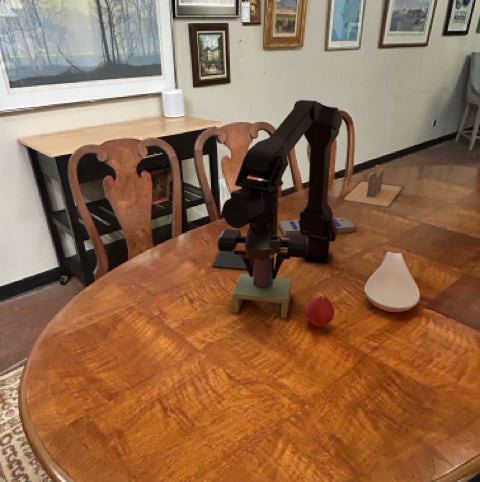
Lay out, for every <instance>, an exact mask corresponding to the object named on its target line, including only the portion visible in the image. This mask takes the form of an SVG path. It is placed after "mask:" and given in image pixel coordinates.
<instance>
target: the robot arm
mask: <svg viewBox="0 0 480 482" xmlns="http://www.w3.org/2000/svg"><path fill="white" fill-rule="evenodd" d="M342 124H343V114H342V112H341V111H340V110H339V108H338V107H335V106H328V105H325V104H323V103H321V102H318V101H317V100H311V99H309V100H308V99H299V100H297V101H295V103H294V105H293V109H291V111H290V112H289V113H288V115H287V116H286V117H285V118H284V120H283V121H282V122H281V123H280V124H279V126H278V127H277V128H276V129H275V130H274V131H273V132H272V133H271V135H270V136H269V137H267V138H264V139H263V140H259V141H256V143H255V144H254V145H252V146H251V147H250V148H248V150H247V151H246V153H245V155H244V157H243V160H242V162H241V165H240V168H239V171H238V174H237V176H236V180H235V183H234V186H235V187H239V189H234V190H232V191H230V198H228V199H227V200H225V201H224V203H223V206H222V207H221V213H222V216H223V219H224V221H225V222H226V224H228V226H230V227H231V228H233V229H231V228H230V229H229V228H225V229H224V230H222V232H221V233H220V235H219V237H218V238H217V251H227V252H232V251H233V250H234V254H235V255H238V256H240V257H241V258H242V260H243V261H244V263H245V265H246V268H247V270H246V271H247V272H248V273H247V274H249V275H250V277H252V259H259V260H263V261H266V260H269V259H270V255H274V256H275V255H276V256H275V261H274V273H273V279H275V278H276V277H278V276H277V275H278V274H279V271H280V268H281V266H282V264H283V263H284V261H285V260H290V259H291V258H301V259H303V261H305V262H315V263H316V262H317V263H326V264H327V263H329V258H330V257H329V256H330V255H329V254H330V244H331V242H335V241H336V239H337V235H338V233H337V231H338V229H337V227H336V226H335V224H334V222H333V218H334V214H333V213H334V212H333V210H332V208H331V206H330V205H329V202H328V196H329V195H328V194H329V181H330V167H331V166H330V165H331V154H332V153H331V151H332V145H333V143H334V142H335V140H336V139H337V137H338V136H339V135H340V129H341V126H342ZM303 136H304V138H305V140H306V141H307V143H308V145H309V149H310V150H309V171H308V193H307V204H306V206H305V207H304V208H303V209H302V211H300V213H299V219H298V220H299V227H300V234H301V235H299V234H290V236H289V238H282V237H281V236H280V235H278V223H279V220H278V217H279V189H280V188H279V187H282V186H283V185H284V181H283V180H282V178H283V176H284V174H285V173H286V170H287V168H288V167H289V155H290V153H291V151H292V150H293V149H294V148H295V147H296V145H297V144H298V143H299V141H300V140H301V139H302V138H303ZM253 178H255V179H253ZM247 225H248V226H249V227H248V230H247V233H246V235H242V231H241V230H240V229H241V228H243V227H246V226H247Z"/></svg>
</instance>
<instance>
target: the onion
mask: <svg viewBox="0 0 480 482" xmlns="http://www.w3.org/2000/svg"><path fill="white" fill-rule="evenodd" d="M334 315H335V307H334V305H333V303H332V302H331V301H330V300H329V299H328V298H327V297H325V295H324V294H320V295H318V296H316V297H313V298H312V299H311V300H310V301H309V302H308V303H307V305H306V308H305V316H306V318H307V320H308V322H309V323H311V324H312V325H314V326H315V327H317V328H321V327H324V326H327V325H329V324H330V323H332V321H333V320H334Z"/></svg>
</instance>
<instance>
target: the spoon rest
mask: <svg viewBox="0 0 480 482" xmlns="http://www.w3.org/2000/svg"><path fill="white" fill-rule="evenodd" d="M364 294H365V297H366V298H367V300H368V301H369V302H370V303H371V304H372V305H373V306H375V307H376V308H378V309H379V310H382V311H384V312H391V313H401V312H406V311H409V310H410V309H413V308H415V306H416V305H417V304H418V303H419V301H420V297H421V295H420V290H419V287H418V285H417V283H416V281H415V279H414V278H413V275H412V274H411V272H410V270H409V269H408V266H407V264H406V262H405V260H404V256H403V253H402V252H397V253H395V252H391V251H387V252H386V254H385V256H384V258H383V259H382V262H381V264H380V265H379V267H378V268H377V269H376V270H375V271H374V272H373V273H372V275H371V276H369V278H368V279H367V281H366V283H365V285H364Z"/></svg>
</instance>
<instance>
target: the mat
mask: <svg viewBox="0 0 480 482" xmlns="http://www.w3.org/2000/svg"><path fill="white" fill-rule="evenodd" d="M234 250H235V249H234ZM234 250H233V251H232V252H227V251H220V252H219V253H218V255H217V257H216V259H215V260H214V261H213V264H212V268H217V269H229V270H230V269H231V270H240V271H248V270H247V268H246V265H245V263H244V261H243V260H242V258H241V257H240V256H238V255H235V254H234Z"/></svg>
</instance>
